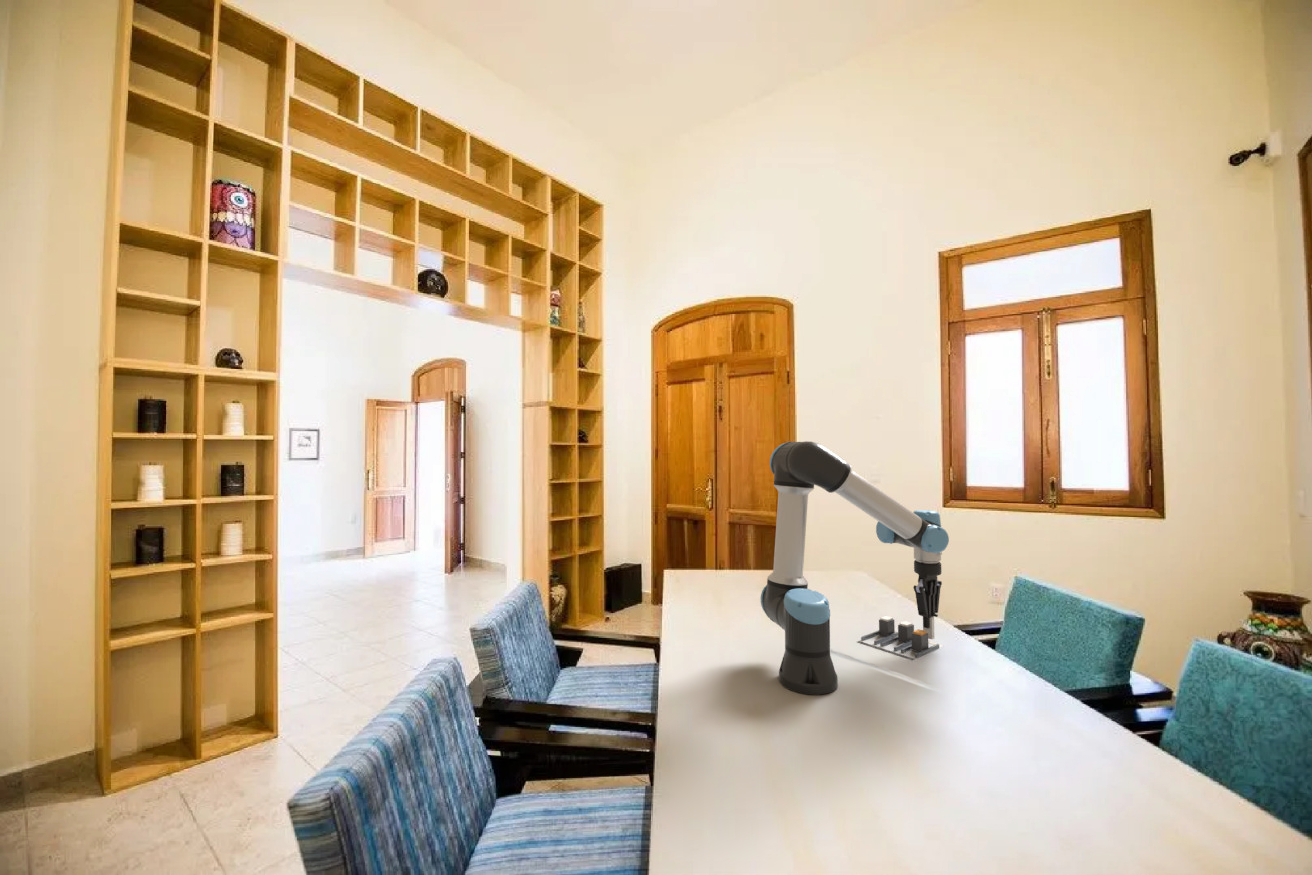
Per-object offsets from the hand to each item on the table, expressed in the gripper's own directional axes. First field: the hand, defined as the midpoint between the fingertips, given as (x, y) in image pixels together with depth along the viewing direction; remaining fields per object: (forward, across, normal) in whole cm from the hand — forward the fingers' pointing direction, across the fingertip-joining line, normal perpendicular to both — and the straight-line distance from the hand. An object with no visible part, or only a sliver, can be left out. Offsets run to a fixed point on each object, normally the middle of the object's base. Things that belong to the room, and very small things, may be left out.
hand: (928, 637), depth 162 cm
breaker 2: (+3, -1, +6) cm, 7 cm away
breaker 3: (+3, -5, 0) cm, 6 cm away
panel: (+4, -5, +6) cm, 9 cm away
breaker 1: (+3, -1, +13) cm, 13 cm away
